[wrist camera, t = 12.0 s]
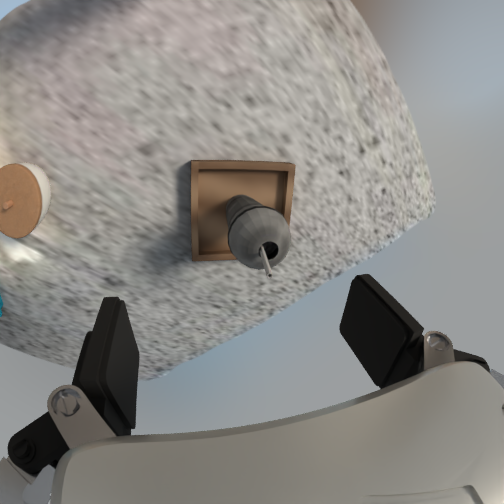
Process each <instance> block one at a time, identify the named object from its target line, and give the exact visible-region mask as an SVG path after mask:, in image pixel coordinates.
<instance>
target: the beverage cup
mask: <svg viewBox="0 0 504 504" xmlns="http://www.w3.org/2000/svg"><path fill="white" fill-rule="evenodd" d="M226 218H227V224H228V246H229V248H230V251H231V253H232V254H233V255H234V256H235V257H236V259H238V260H239V261H240V262H241V263H242V264H244V265H246V266H248V267H250V268H254V269H258V270H259V269H265V271H266V275H267V277H268V278H272V276H273V274H272V271H271V267H274V266H276V265H277V264H279V263H280V262H281V261H282V260H283V259H284V258H285V256H286V255H287V253H288V251H289V248H290V246H291V233H290V229H289V226H288V223H287V221H286V219H285V218H284V216H283V215H282V214H281V213H280V212H278V211H277V210H276V209H274V208H271V207H267V206H264V205H262V204H261V203H259V202H257V201H256V200H254V199H253V198H251V197H249V196H247V195H243V194H240V195H236V196H233V197H232V198H231V199H230V200H229V201H228V202H227V205H226Z"/></svg>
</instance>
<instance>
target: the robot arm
mask: <svg viewBox="0 0 504 504" xmlns="http://www.w3.org/2000/svg"><path fill="white" fill-rule="evenodd" d="M423 330H424V328H423V327H422V326H421V325H420V324H419V323H418V322H417V321H416V320H415V319H414V318H413V317H412V315H410V314H409V312H408V311H407V310H405V309H404V307H403V306H401V305H400V303H398V302H397V300H396V299H394V297H393V296H391V295H390V294H389V293H388V292H387V291H386V290H385V289H384V288H383V287H382V286H381V285H380V284H379V283H378V282H377V281H376V280H375V279H374V278H373V277H372V276H371V275H369V274H363V275H357V276H356V277H355V278H354V279H353V280H352V282H351V286H350V290H349V294H348V298H347V302H346V306H345V309H344V313H343V316H342V320H341V323H340V333H341V335H342V336H343V337H344V339H345V340H346V342H347V343H348V345H349V346H350V348H351V349H352V351H353V352H354V354H355V355H356V357H357V358H358V360H359V361H360V362H361V364H362V365H363V367H364V368H365V370H366V371H367V373H368V374H369V376H370V377H371V379H372V380H373V382H374V383H375V385H376V386H379V387H380V388H381V389H380V390H378V391H375V392H372V393H370V394H367V395H364V396H361V397H358V398H355V399H352V400H350V401H346V402H343V403H340V404H337V405H334V406H330V407H327V408H323V409H320V410H316V411H312V412H309V413H305V414H301V415H296V416H292V417H288V418H284V419H279V420H274V421H269V422H264V423H258V424H253V425H247V426H241V427H234V428H226V429H219V430H210V431H199V432H188V433H174V434H151V435H131V429H135V425H136V424H135V423H136V398H137V382H138V369H139V350H138V347H137V344H136V341H135V338H134V334H133V331H132V327H131V324H130V320H129V317H128V313H127V309H126V306H125V302H124V301H123V300H120V299H119V297H104V299H103V301H102V304H101V307H100V310H99V313H98V316H97V319H96V322H95V325H94V328H93V331H89V332H88V333H87V334H86V336H85V340H84V343H83V346H82V349H81V353H80V356H79V359H78V363H77V366H76V370H75V374H74V378H73V382H72V385H63V386H60V387H58V388H56V389H55V390H54V391H53V392H52V393H51V394H50V396H49V398H48V402H47V407H48V412H47V413H45V414H44V415H42V416H41V417H39V418H38V419H36V420H35V421H33V422H32V423H31V424H29V425H28V426H26V427H25V428H23V429H22V430H20V431H19V432H17V433H16V434H14V436H12V437H11V439H10V441H9V443H8V455H9V456H8V458H7V459H5V458H4V457H3V458H2V460H1V461H0V504H48V502H49V500H50V499H51V501H50V504H504V375H502V374H500V373H498V372H497V371H495V370H493V369H491V370H490V369H489V366H488V364H487V362H486V361H485V360H484V359H483V358H481V357H479V356H476V355H472V354H469V353H465V352H462V351H458V350H455V349H453V345H452V342H451V340H450V339H449V338H448V337H447V336H446V335H445V334H443V333H441V332H438V331H429V332H427V333H426V334H425V335H424V336H423V335H422V332H423ZM50 493H51V496H50Z"/></svg>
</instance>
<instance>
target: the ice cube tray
mask: <svg viewBox="0 0 504 504" xmlns="http://www.w3.org/2000/svg"><path fill="white" fill-rule="evenodd" d="M2 306H3V302H2V299H1V295H0V317H1V316H2V311H1V308H2Z"/></svg>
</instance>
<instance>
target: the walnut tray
mask: <svg viewBox="0 0 504 504" xmlns="http://www.w3.org/2000/svg"><path fill="white" fill-rule="evenodd" d="M294 176H295V164H292V163H286V162H268V161H243V160H191V243H192V261H213V260H236V257H235V256H234V255H233V254H232V253H231V251H230V248H229V246H228V224H227V218H226V205H227V202H228V201H229V200H230V199H231V198H232V197H233V196H236V195H240V194H243V195H247V196H249V197H251V198H253V199H254V200H256V201H257V202H259V203H261V204H262V205H264V206H267V207H271V208H274V209H276V210H277V211H278V212H280V213H281V214H282V215H283V216H284V218H285V219H286V221H287V223H288V226H289V224H290V215H291V206H292V196H293V186H294ZM285 257H286V256H285Z"/></svg>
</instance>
